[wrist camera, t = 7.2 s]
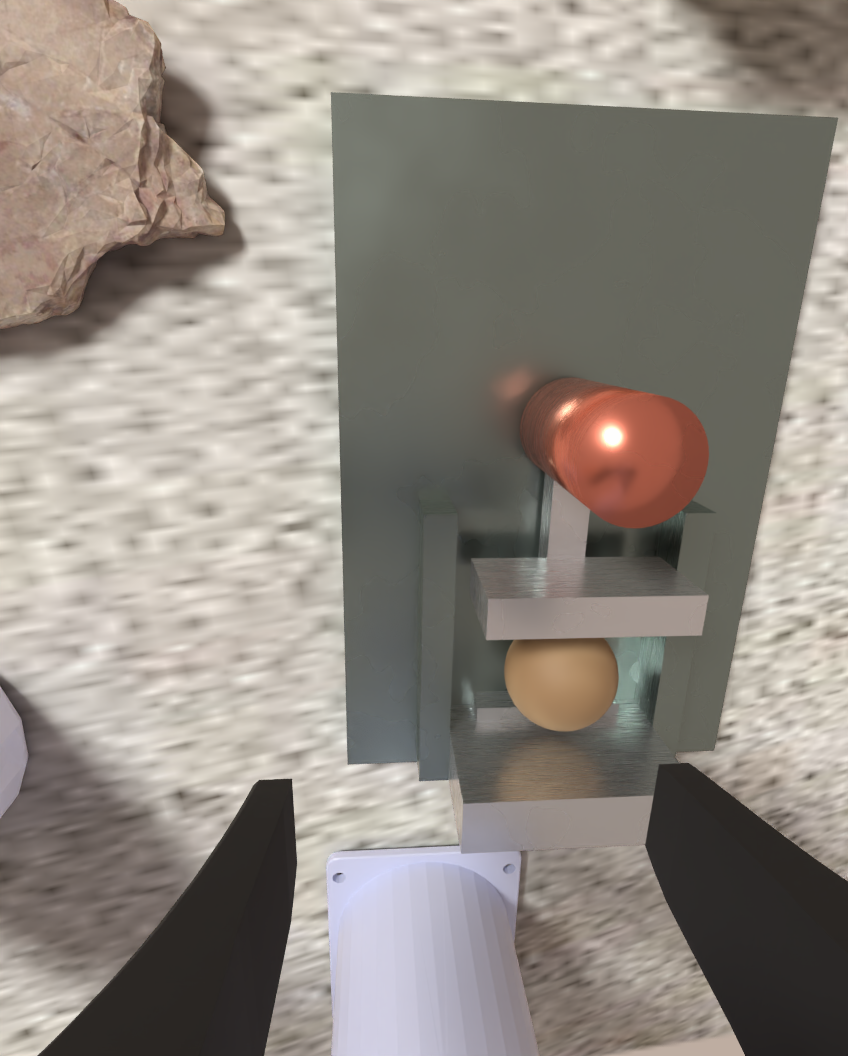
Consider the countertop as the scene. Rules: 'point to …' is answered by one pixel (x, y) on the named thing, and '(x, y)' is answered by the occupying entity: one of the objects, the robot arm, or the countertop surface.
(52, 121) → the stone
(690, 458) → the ram
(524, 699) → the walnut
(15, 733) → the soap bottle
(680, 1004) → the countertop surface
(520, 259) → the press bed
